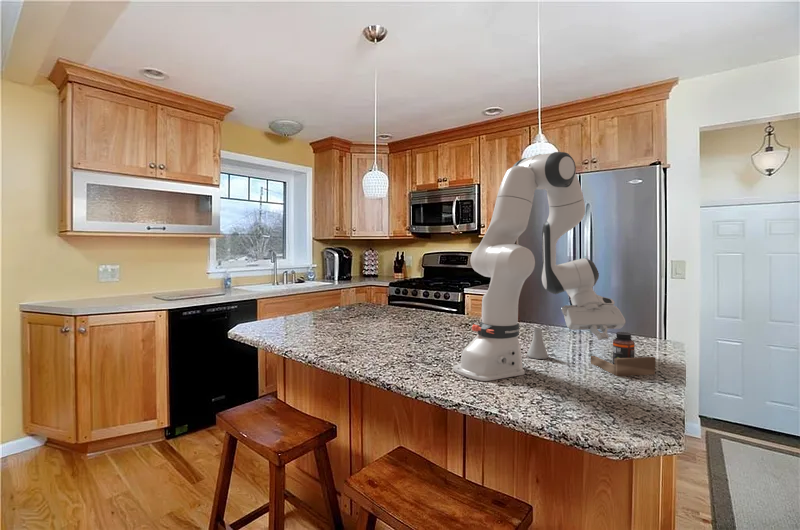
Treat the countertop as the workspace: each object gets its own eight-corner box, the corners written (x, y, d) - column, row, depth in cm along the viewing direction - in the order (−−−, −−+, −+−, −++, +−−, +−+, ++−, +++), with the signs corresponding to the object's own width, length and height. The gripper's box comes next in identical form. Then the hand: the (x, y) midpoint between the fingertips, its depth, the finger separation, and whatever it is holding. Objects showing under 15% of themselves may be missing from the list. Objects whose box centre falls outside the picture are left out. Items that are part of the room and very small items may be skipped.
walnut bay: (590, 363, 129) (591, 348, 129) (625, 361, 131) (625, 346, 131) (616, 376, 117) (617, 359, 116) (654, 374, 118) (655, 357, 118)
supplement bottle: (633, 367, 125) (634, 332, 124) (635, 373, 120) (636, 336, 119) (611, 365, 128) (612, 330, 127) (612, 370, 122) (613, 334, 122)
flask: (550, 360, 133) (550, 330, 132) (527, 359, 134) (528, 330, 134) (546, 354, 140) (547, 326, 139) (525, 353, 141) (525, 325, 141)
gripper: (563, 300, 137) (578, 334, 128) (617, 299, 140) (636, 332, 131) (556, 310, 142) (570, 344, 133) (608, 309, 145) (626, 342, 136)
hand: (603, 338), depth 132 cm, fingers closed
